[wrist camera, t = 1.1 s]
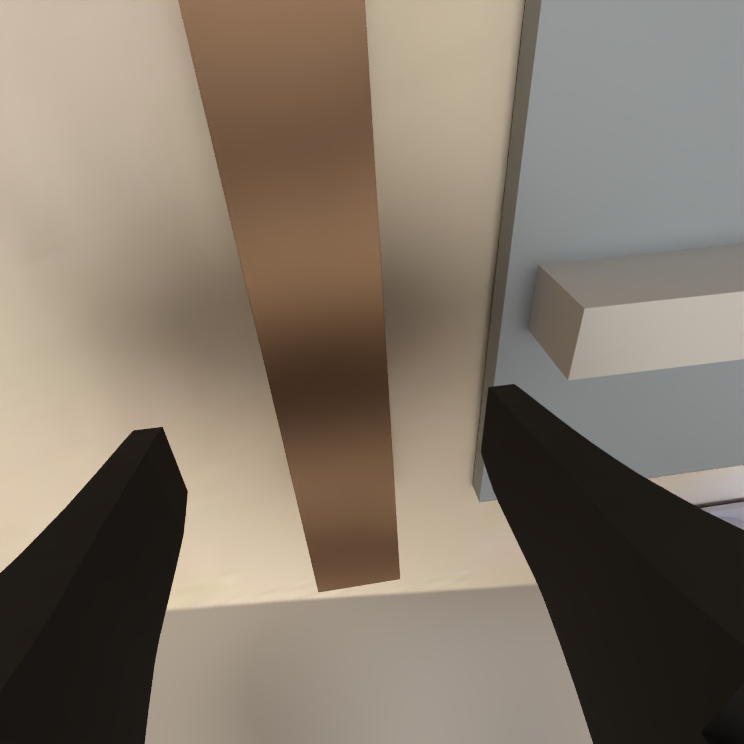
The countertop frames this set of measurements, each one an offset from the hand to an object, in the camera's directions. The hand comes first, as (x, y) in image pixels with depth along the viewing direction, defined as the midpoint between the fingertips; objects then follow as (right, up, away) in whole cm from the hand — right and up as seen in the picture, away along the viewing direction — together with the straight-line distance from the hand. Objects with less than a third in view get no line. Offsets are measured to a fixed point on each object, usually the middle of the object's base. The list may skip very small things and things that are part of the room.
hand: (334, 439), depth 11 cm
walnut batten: (-1, +4, +6) cm, 7 cm away
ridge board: (+12, +5, +7) cm, 15 cm away
